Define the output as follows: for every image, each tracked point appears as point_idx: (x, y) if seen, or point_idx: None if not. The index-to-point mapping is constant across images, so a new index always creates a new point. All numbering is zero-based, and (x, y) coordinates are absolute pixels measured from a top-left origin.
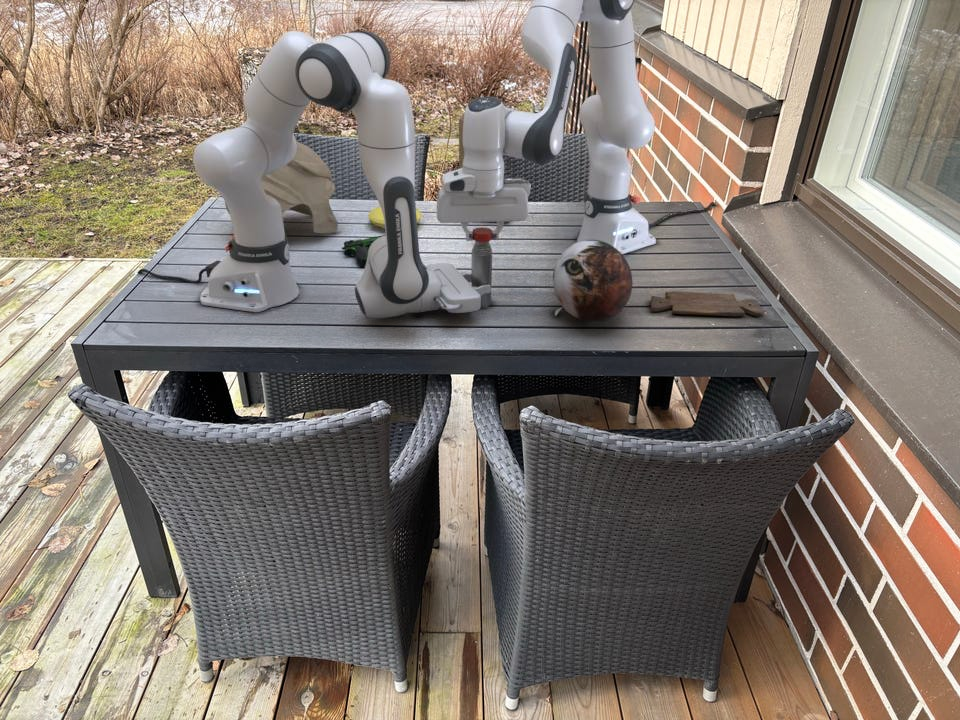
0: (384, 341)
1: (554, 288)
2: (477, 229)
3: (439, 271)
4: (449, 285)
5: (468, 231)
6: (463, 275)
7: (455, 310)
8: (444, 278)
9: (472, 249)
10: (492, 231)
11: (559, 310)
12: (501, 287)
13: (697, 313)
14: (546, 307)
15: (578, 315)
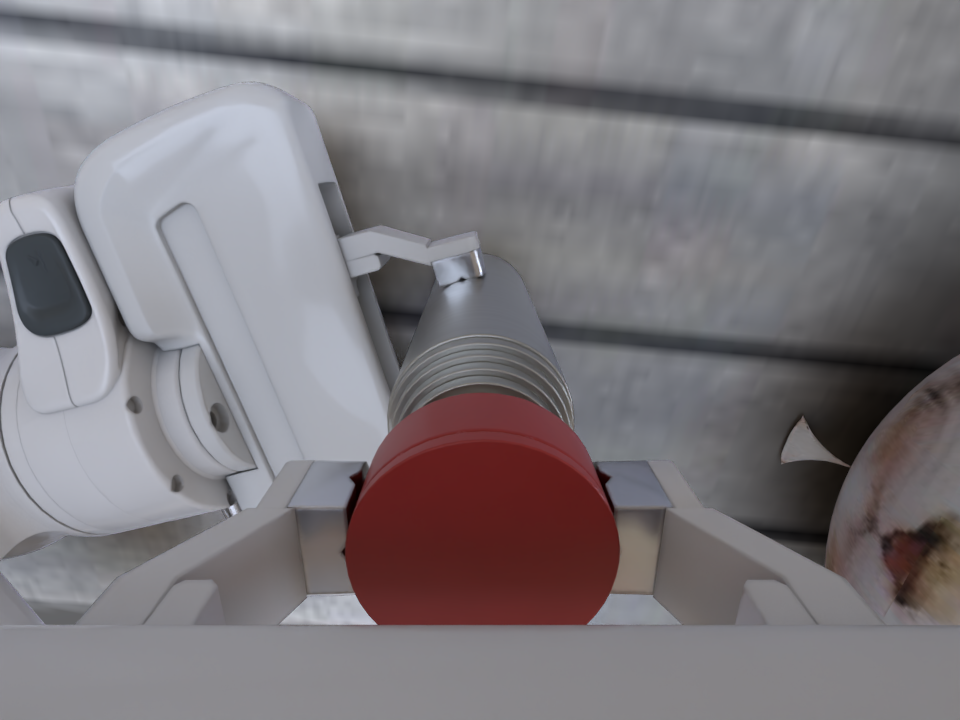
0: (96, 568)
1: (849, 574)
2: (417, 518)
3: (198, 232)
4: (280, 442)
5: (287, 577)
6: (369, 271)
7: None
8: (243, 348)
9: (391, 419)
10: (621, 537)
11: (812, 459)
12: (622, 107)
13: None
14: (776, 365)
15: None
